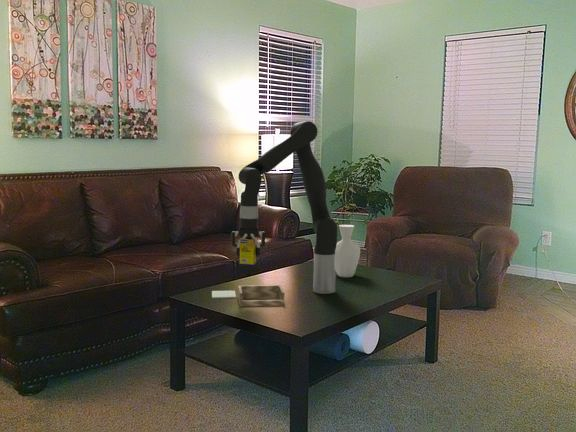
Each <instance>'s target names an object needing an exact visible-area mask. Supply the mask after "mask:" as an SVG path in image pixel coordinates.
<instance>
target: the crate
mask: <svg viewBox="0 0 576 432" xmlns="http://www.w3.org/2000/svg"><path fill="white" fill-rule="evenodd" d="M237 288H238V289H237V290H238V295H237V296H238V303H239V307H262V306H263V305H264V306H265V307H266V306H267V307H268V306H285V303H286V302H285V301H286V300H285V293H286V292H285V291H284V288H283V286H282V285H281V284H275V285H274V284H272V285H271V284H269V285H268V284H267V285H264V284H263V285H238V287H237ZM257 297H258V298H260V297H266V298H278V299H263V300H262V299H261V298H260V299H261V300H259V299H258V300H257ZM247 298H248V300H246V299H247ZM253 298H254V299H253ZM243 299H245V300H243ZM249 299H251V300H249ZM252 299H253V300H252ZM255 299H256V300H255Z"/></svg>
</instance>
